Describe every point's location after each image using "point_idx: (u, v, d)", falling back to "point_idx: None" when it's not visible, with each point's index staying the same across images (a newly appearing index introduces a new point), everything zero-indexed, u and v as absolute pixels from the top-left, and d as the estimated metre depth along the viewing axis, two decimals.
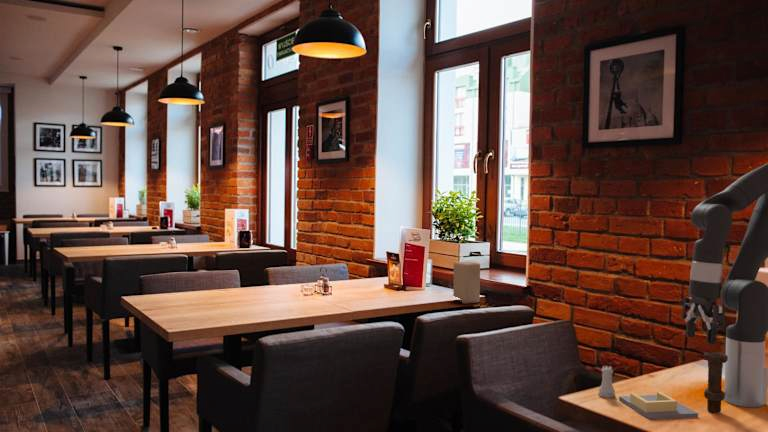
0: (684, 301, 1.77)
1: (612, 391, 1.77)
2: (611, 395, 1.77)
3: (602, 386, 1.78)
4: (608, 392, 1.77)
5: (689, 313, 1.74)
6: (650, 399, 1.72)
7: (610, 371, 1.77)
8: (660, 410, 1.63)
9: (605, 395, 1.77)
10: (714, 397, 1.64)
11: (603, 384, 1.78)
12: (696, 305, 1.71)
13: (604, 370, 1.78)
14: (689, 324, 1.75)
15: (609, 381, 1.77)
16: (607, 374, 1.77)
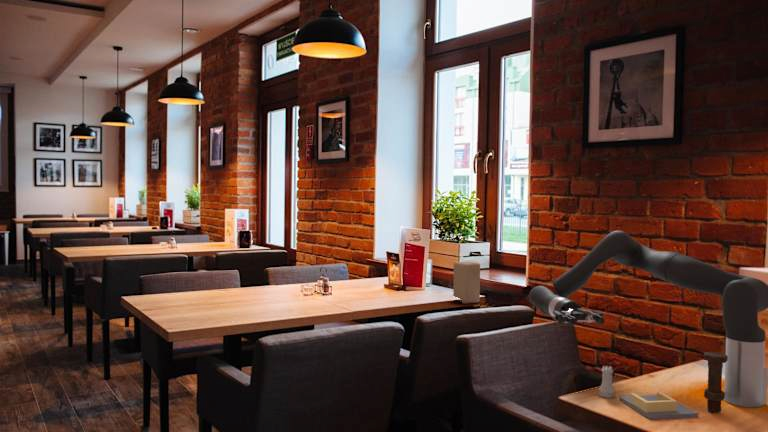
0: None
1: (612, 391, 1.77)
2: (611, 395, 1.77)
3: (602, 386, 1.78)
4: (608, 392, 1.77)
5: None
6: (650, 399, 1.72)
7: (610, 371, 1.77)
8: (660, 410, 1.63)
9: (605, 395, 1.77)
10: (714, 397, 1.64)
11: (603, 384, 1.78)
12: (576, 319, 1.98)
13: (604, 370, 1.78)
14: (595, 321, 1.93)
15: (609, 381, 1.77)
16: (607, 374, 1.77)
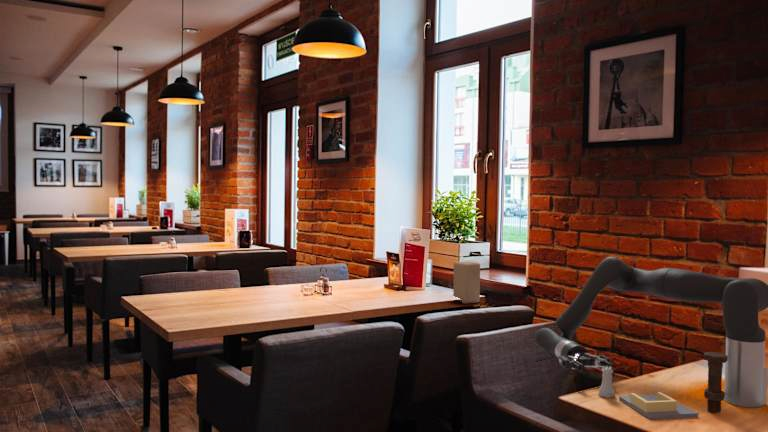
0: None
1: (612, 391, 1.77)
2: (611, 395, 1.77)
3: (602, 386, 1.78)
4: (608, 392, 1.77)
5: None
6: (650, 399, 1.72)
7: (610, 371, 1.77)
8: (660, 410, 1.63)
9: (605, 395, 1.77)
10: (714, 397, 1.64)
11: (603, 384, 1.78)
12: None
13: (604, 370, 1.78)
14: None
15: (609, 381, 1.77)
16: (607, 374, 1.77)
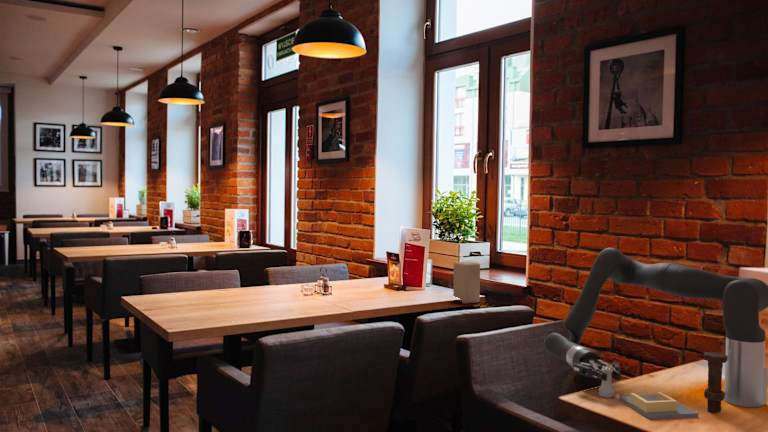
0: None
1: (612, 391, 1.77)
2: (611, 395, 1.77)
3: (602, 386, 1.78)
4: (608, 392, 1.77)
5: None
6: (650, 399, 1.72)
7: (610, 371, 1.77)
8: (660, 410, 1.63)
9: (605, 395, 1.77)
10: (714, 397, 1.64)
11: (603, 384, 1.78)
12: None
13: (604, 370, 1.78)
14: None
15: (608, 381, 1.77)
16: (607, 374, 1.77)
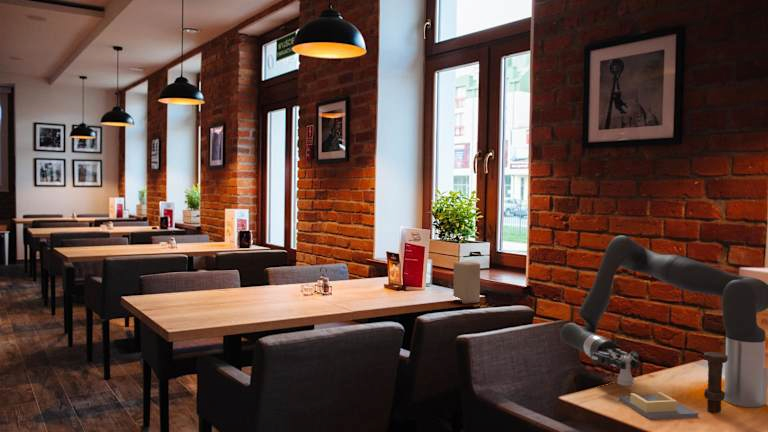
0: None
1: (631, 379, 1.79)
2: (630, 383, 1.79)
3: (620, 374, 1.80)
4: (627, 380, 1.79)
5: None
6: (650, 399, 1.72)
7: (629, 360, 1.79)
8: (660, 410, 1.63)
9: (624, 383, 1.79)
10: (714, 397, 1.64)
11: (622, 372, 1.80)
12: None
13: (623, 359, 1.79)
14: None
15: (627, 369, 1.79)
16: (626, 363, 1.79)
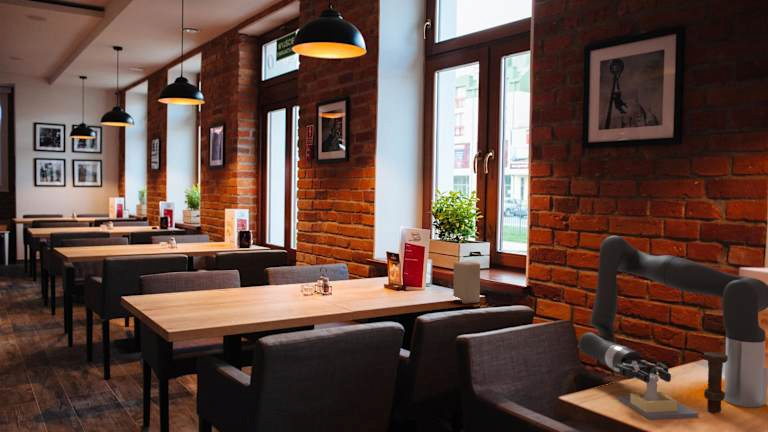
0: None
1: None
2: None
3: (646, 395, 1.67)
4: None
5: None
6: None
7: (655, 380, 1.66)
8: (660, 410, 1.63)
9: None
10: (714, 397, 1.64)
11: (648, 393, 1.67)
12: None
13: (649, 378, 1.66)
14: (660, 377, 1.68)
15: (654, 390, 1.66)
16: (652, 383, 1.66)
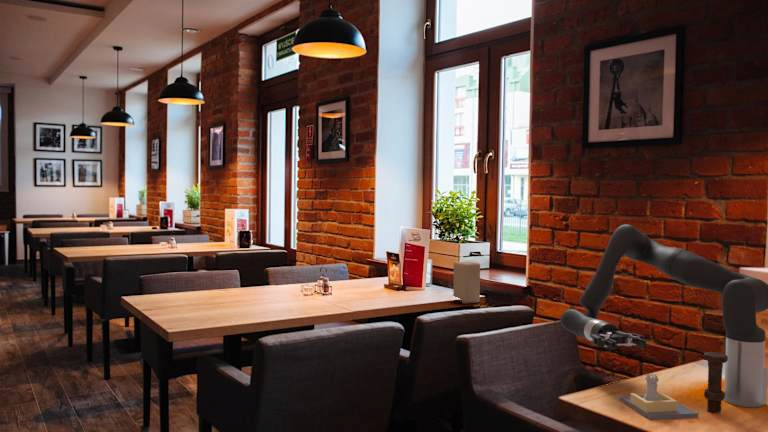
0: None
1: None
2: None
3: (646, 395, 1.67)
4: None
5: None
6: None
7: (655, 380, 1.66)
8: (660, 410, 1.63)
9: None
10: (714, 397, 1.64)
11: (648, 393, 1.67)
12: None
13: (649, 378, 1.66)
14: (636, 344, 1.83)
15: (654, 390, 1.66)
16: (652, 383, 1.66)
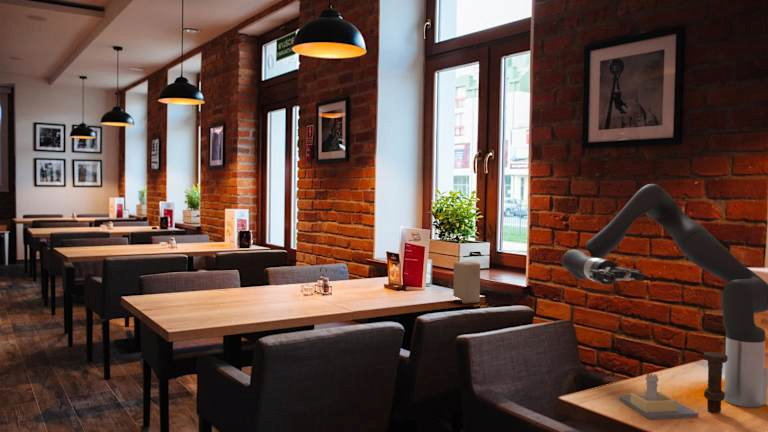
0: (632, 277, 1.93)
1: None
2: None
3: (646, 395, 1.67)
4: None
5: (626, 280, 1.90)
6: None
7: (655, 380, 1.66)
8: (660, 410, 1.63)
9: None
10: (714, 397, 1.64)
11: (648, 393, 1.67)
12: (614, 278, 1.92)
13: (649, 378, 1.66)
14: (635, 278, 1.87)
15: (654, 390, 1.66)
16: (652, 383, 1.66)
